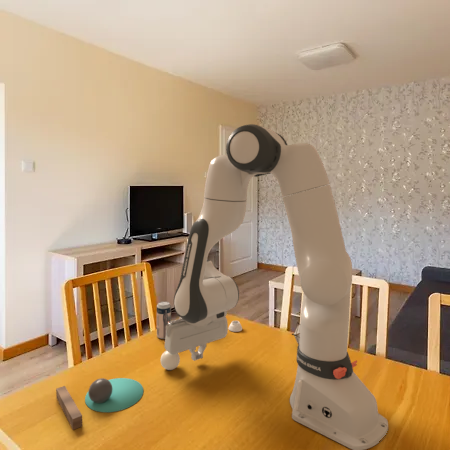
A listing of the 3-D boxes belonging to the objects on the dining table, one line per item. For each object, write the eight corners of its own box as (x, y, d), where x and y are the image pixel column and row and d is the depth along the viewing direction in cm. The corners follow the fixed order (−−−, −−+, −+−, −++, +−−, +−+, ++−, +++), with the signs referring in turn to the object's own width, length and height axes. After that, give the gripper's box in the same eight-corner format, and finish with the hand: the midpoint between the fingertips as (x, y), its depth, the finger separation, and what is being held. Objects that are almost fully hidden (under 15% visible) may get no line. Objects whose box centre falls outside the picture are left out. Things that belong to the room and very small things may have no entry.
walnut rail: (82, 426, 77) (82, 415, 76) (72, 429, 76) (72, 419, 75) (65, 395, 88) (64, 385, 87) (56, 398, 86) (56, 388, 86)
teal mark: (153, 397, 87) (152, 396, 87) (96, 420, 79) (96, 419, 79) (129, 373, 98) (129, 372, 98) (77, 390, 89) (77, 390, 89)
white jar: (225, 329, 129) (234, 333, 125) (226, 321, 129) (234, 326, 125) (236, 326, 132) (244, 330, 128) (236, 318, 132) (245, 323, 128)
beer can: (167, 340, 119) (167, 306, 117) (154, 339, 120) (154, 305, 118) (172, 334, 123) (172, 301, 122) (160, 333, 124) (159, 300, 123)
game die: (307, 360, 115) (313, 345, 108) (285, 344, 119) (289, 329, 112) (320, 340, 120) (326, 324, 113) (298, 326, 124) (303, 310, 117)
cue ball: (160, 352, 98) (166, 372, 96) (178, 345, 101) (184, 364, 99) (155, 354, 102) (161, 373, 101) (173, 348, 105) (179, 366, 104)
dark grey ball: (108, 409, 84) (120, 387, 85) (88, 405, 81) (101, 381, 82) (100, 399, 88) (111, 377, 90) (81, 394, 85) (92, 372, 86)
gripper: (171, 325, 93) (171, 374, 95) (231, 309, 106) (230, 353, 108) (160, 318, 98) (160, 365, 100) (218, 303, 111) (217, 345, 112)
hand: (197, 358), depth 104 cm, fingers closed
